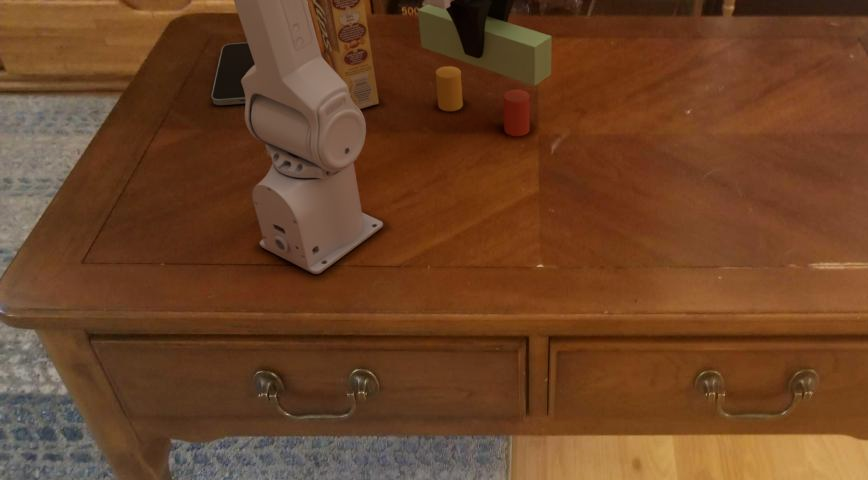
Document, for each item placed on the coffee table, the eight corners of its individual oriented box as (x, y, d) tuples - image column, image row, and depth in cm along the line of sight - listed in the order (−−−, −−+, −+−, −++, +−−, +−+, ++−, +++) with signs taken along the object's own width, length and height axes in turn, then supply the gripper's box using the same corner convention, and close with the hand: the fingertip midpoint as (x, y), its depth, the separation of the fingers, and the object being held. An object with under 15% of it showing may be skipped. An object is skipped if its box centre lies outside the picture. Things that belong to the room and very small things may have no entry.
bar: (421, 47, 98) (417, 9, 94) (438, 37, 99) (435, 0, 96) (534, 86, 91) (534, 46, 88) (551, 74, 93) (551, 35, 90)
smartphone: (209, 100, 102) (222, 44, 113) (211, 107, 103) (224, 50, 113) (272, 95, 103) (279, 40, 114) (274, 102, 104) (280, 46, 114)
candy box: (381, 104, 104) (364, -20, 93) (348, 114, 102) (328, -12, 91) (351, 75, 109) (332, -45, 99) (320, 84, 107) (298, -38, 97)
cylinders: (520, 139, 98) (519, 104, 95) (433, 107, 103) (430, 73, 100) (534, 128, 100) (534, 93, 97) (448, 97, 105) (446, 63, 102)
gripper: (464, -48, 79) (471, 84, 88) (550, -90, 88) (549, 34, 97) (407, -64, 82) (420, 66, 91) (496, -103, 91) (500, 19, 100)
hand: (483, 48), depth 94 cm, fingers closed on bar, 3 cm apart
